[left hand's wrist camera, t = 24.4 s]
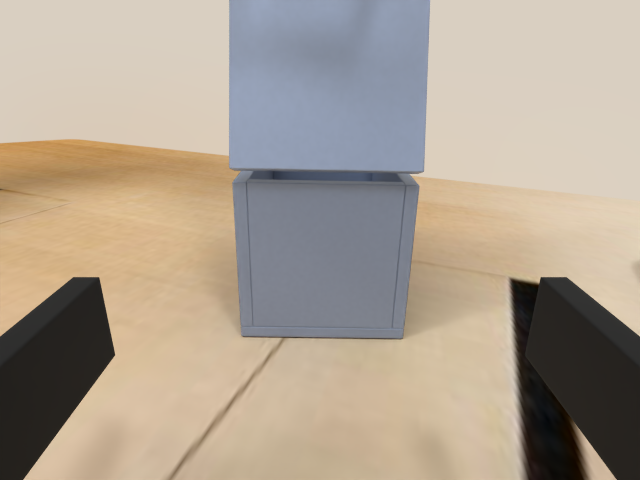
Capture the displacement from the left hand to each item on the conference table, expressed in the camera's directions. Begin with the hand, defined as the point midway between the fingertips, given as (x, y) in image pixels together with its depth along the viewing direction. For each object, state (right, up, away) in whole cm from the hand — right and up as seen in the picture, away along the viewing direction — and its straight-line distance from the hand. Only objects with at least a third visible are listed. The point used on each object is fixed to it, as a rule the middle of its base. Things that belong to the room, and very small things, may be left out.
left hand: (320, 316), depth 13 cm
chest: (0, -1, +20) cm, 20 cm away
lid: (0, +14, +9) cm, 16 cm away
